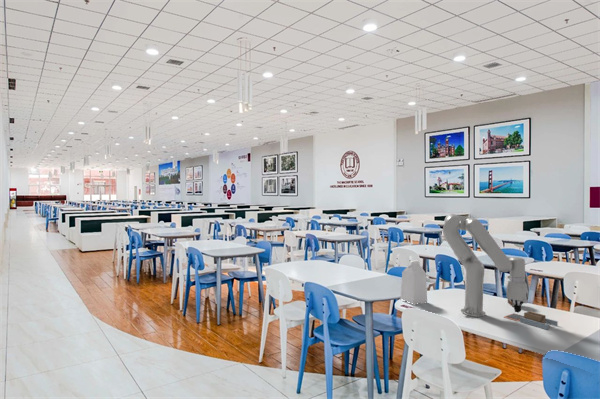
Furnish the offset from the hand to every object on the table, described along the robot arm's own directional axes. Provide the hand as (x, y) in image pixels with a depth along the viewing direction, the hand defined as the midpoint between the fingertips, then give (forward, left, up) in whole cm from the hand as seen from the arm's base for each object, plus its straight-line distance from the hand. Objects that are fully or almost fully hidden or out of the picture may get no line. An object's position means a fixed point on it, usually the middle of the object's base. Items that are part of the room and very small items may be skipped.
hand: (517, 311), depth 217 cm
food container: (+23, +13, -4) cm, 27 cm away
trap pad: (-1, +1, -4) cm, 4 cm away
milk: (-25, +53, -4) cm, 58 cm away
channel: (-1, -11, -4) cm, 12 cm away
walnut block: (-1, -9, -4) cm, 10 cm away
